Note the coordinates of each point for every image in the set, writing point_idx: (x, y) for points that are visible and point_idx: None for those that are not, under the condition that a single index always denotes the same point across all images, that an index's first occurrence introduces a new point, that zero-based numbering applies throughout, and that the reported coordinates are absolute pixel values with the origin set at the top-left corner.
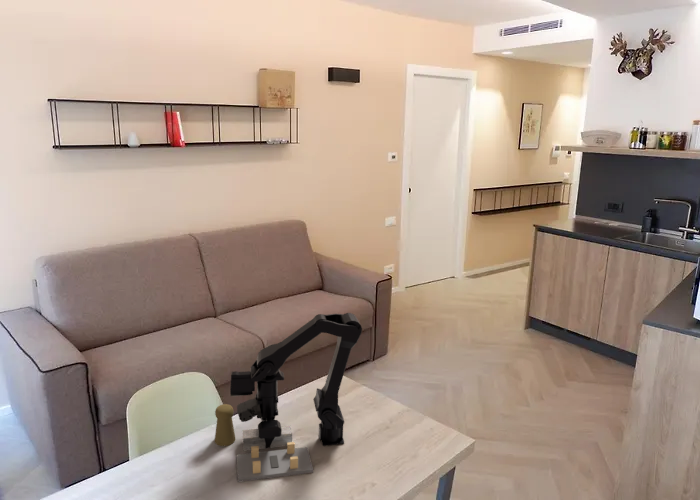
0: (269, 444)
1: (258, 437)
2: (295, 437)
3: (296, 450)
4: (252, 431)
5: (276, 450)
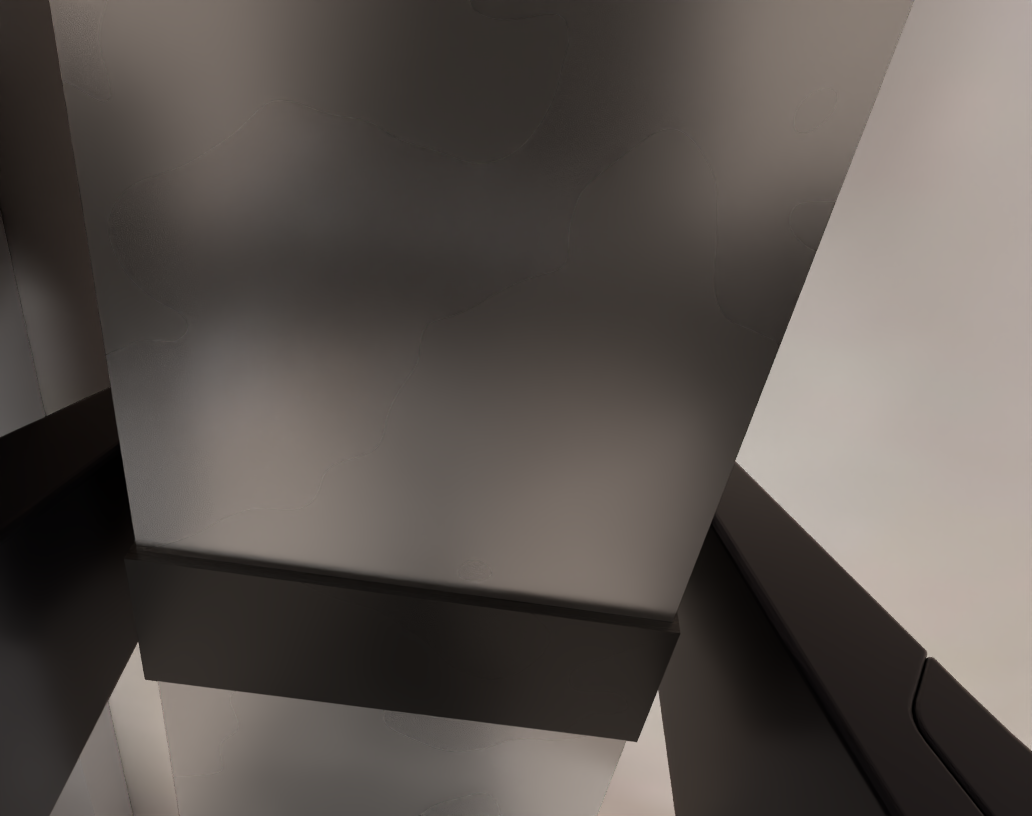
0: None
1: (121, 295)
2: None
3: None
4: (646, 136)
5: None
